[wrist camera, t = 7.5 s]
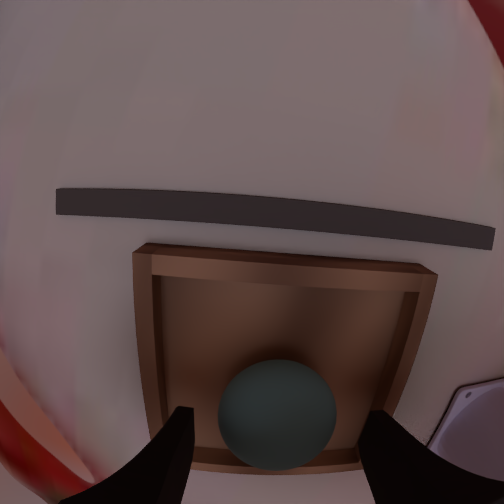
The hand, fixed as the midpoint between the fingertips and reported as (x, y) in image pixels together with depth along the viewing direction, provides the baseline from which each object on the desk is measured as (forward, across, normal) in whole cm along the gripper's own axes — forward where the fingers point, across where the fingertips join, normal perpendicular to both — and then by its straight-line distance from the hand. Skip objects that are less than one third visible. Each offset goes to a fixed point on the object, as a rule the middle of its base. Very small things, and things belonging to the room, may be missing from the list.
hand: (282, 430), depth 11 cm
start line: (+4, 0, -8) cm, 9 cm away
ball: (+1, 0, 0) cm, 1 cm away
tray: (+4, 0, 0) cm, 4 cm away
